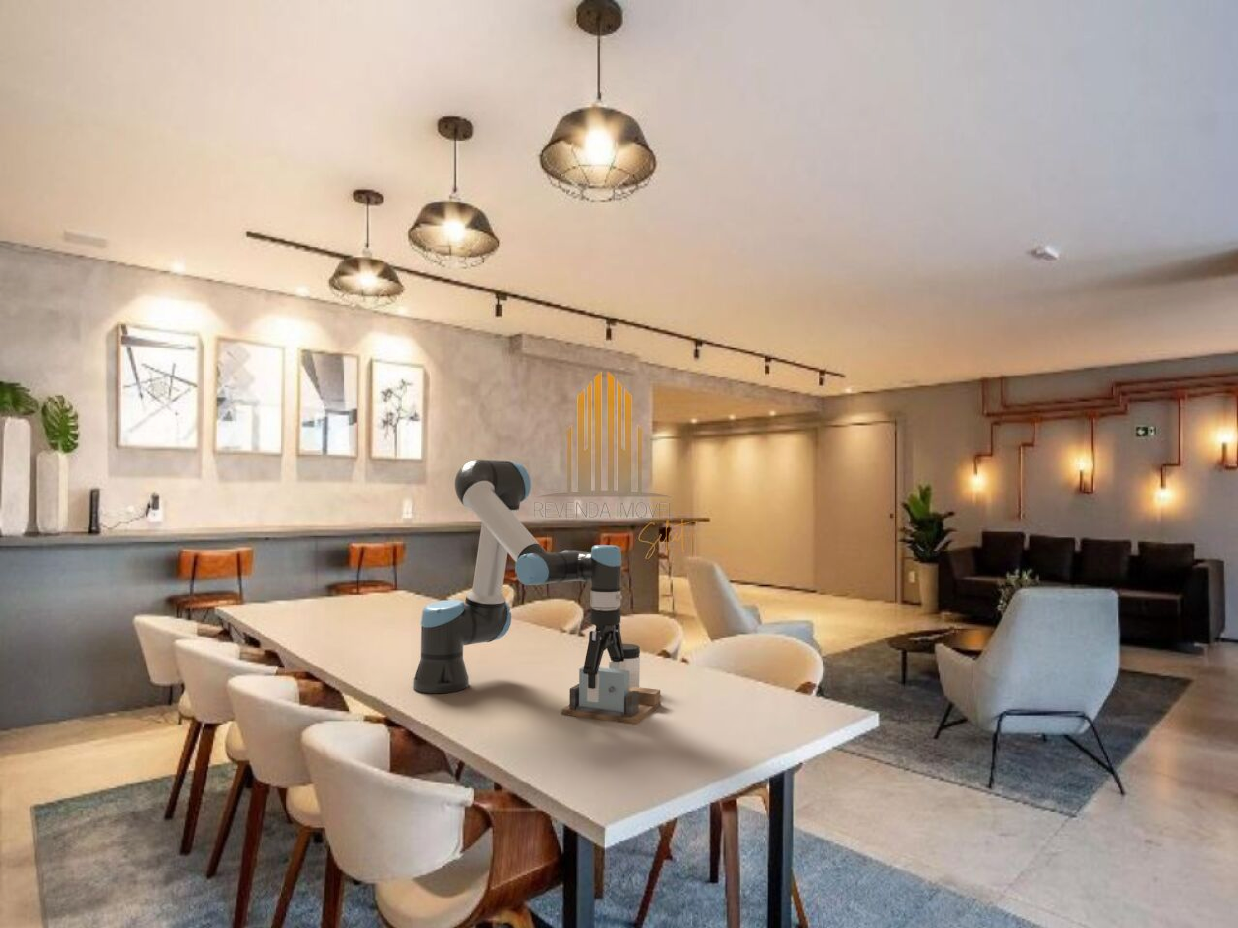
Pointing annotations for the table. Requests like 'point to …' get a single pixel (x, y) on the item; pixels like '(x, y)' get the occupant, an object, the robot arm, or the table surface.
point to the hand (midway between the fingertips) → (604, 694)
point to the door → (606, 689)
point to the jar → (631, 663)
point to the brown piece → (637, 709)
